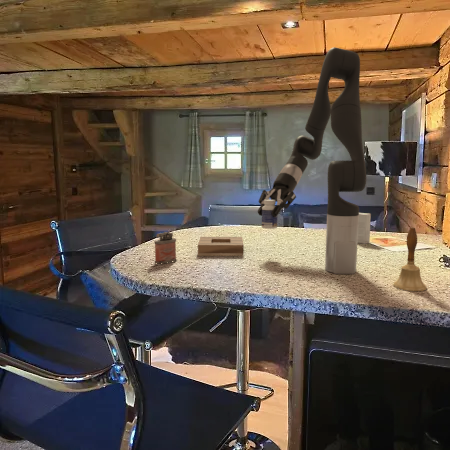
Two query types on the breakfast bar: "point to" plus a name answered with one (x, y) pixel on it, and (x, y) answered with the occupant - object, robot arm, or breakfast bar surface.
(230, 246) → the socket block
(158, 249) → the lighter
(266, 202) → the pill bottle
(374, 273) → the breakfast bar surface
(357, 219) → the robot arm
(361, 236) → the skincare box
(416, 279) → the hand bell
